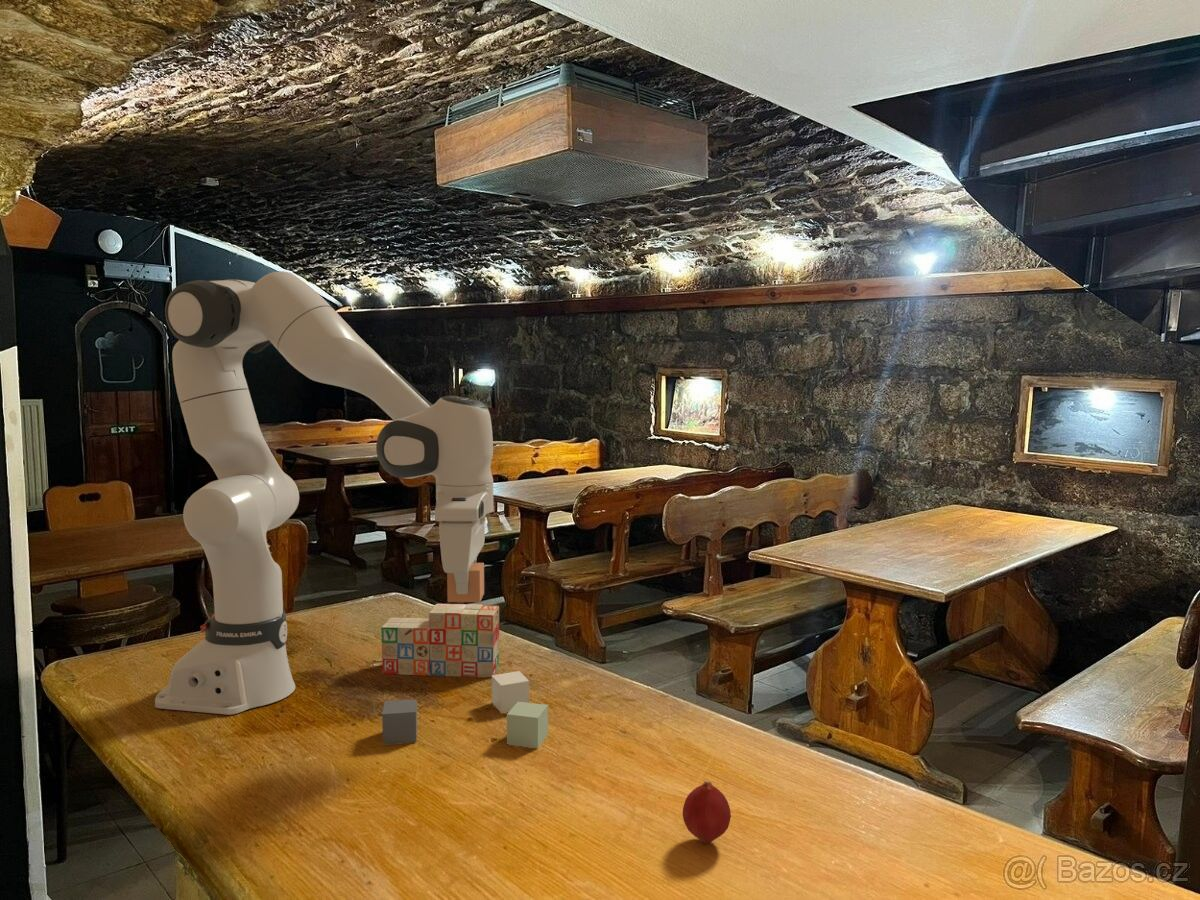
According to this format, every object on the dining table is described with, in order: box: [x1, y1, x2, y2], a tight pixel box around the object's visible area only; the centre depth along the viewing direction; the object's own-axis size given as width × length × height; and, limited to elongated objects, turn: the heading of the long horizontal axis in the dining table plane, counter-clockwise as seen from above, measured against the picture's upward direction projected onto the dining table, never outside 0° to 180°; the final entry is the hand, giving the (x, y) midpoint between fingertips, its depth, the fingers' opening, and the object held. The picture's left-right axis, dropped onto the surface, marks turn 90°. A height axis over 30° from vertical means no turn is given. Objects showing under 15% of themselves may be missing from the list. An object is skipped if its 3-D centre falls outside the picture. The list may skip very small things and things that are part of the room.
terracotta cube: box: [446, 562, 485, 603], centre depth 132 cm, size 5×5×5 cm
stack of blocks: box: [380, 603, 500, 678], centre depth 159 cm, size 21×6×12 cm, turn 86°
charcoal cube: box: [381, 698, 418, 745], centre depth 131 cm, size 5×5×5 cm
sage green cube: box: [506, 702, 549, 749], centre depth 130 cm, size 5×5×5 cm
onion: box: [682, 780, 732, 845], centre depth 102 cm, size 6×6×8 cm
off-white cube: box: [491, 670, 530, 714], centre depth 143 cm, size 5×5×5 cm
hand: (465, 587), depth 132 cm, fingers closed on terracotta cube, 5 cm apart
